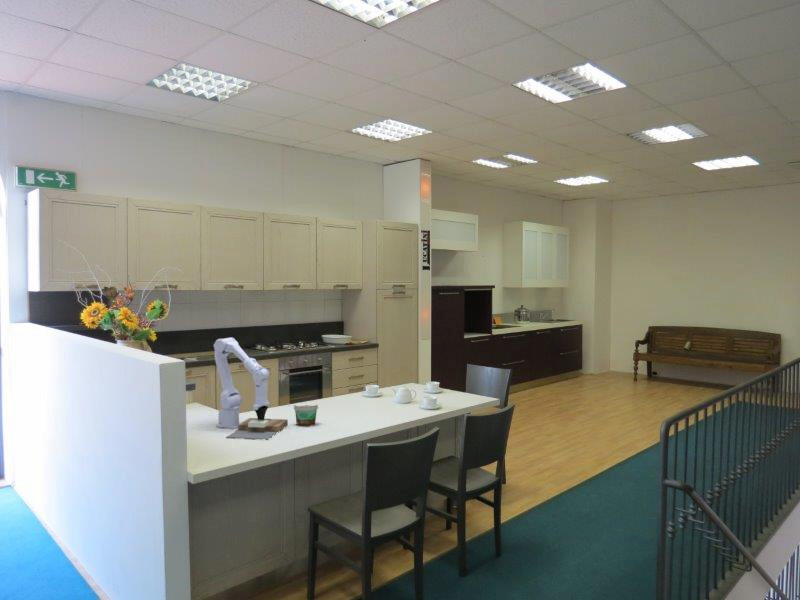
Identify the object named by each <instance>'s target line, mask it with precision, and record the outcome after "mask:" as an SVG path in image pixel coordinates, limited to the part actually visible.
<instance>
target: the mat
mask: <svg viewBox="0 0 800 600" xmlns="http://www.w3.org/2000/svg"><path fill="white" fill-rule="evenodd" d="M276 433H277V432H264V431H243V430H238V429H237V430H236V431H234V432H232V433H231V434H229V435H227V436H226V439H235V438H244V439H243V440H255V439H267V440H266V441H268V439H269V438H270V439H272V438H273V437H274V436H275V435H277V434H278V433H277V434H276ZM273 435H274V436H273ZM272 436H273V437H272ZM270 439H269V440H270Z"/></svg>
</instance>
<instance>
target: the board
mask: <svg viewBox="0 0 800 600" xmlns="http://www.w3.org/2000/svg"><path fill="white" fill-rule="evenodd" d="M252 420H258V417H256V418H255V417H254V418H253V417H249V418H247V419H245V420H244V421H241V423H240V422H239V423H240V424H239V425H238V427H237V430H243V431H264V432H278V433H280V432H281V431H282V430H284V429H285V428H286V427H287V425H288V419H285V418H284V419H282V418H281V419H280V418H264V420H269V425H267V426H266V427H264V428H261V427H248V422H250V421H252ZM284 427H285V428H284ZM283 428H284V429H283ZM281 429H282V430H281ZM280 430H281V431H280ZM279 431H280V432H279Z"/></svg>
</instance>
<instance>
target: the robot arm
mask: <svg viewBox="0 0 800 600" xmlns="http://www.w3.org/2000/svg"><path fill="white" fill-rule="evenodd" d="M213 348H214V353H213V354H214V361H215V364H216V368H217V372H218V377H219V381H220V383H221V384H220V385H221V389H222V392H221V394H220V396H219V397H220V406H221V408H220V409H219V411H218V415H217V417H218V420H217V421H218V425H217V428H221V429H223V428H225V429H228V428H229V429H238V425H239V424H240V407H241V405H242V402H243V397H242V396H241V394H240V392H239V390H238V389H237V388H236V387H235V386H234V382H233V377H232V374H231V369H230V366H229V363H228V362H229V361H228V358H227V357H228V355H230V354H231V353H233V355H235V356H236V357H237V358H238V359H239V360H240V361H241V362H242V363H243V366H244V368H245V369H246V370H247V371H248V372H249V373H250V374H251V375H252V380H253V381H254V404H253V407H252V408H253V409H252V410H253V411H254V412H255V413H256V418H258V420H264V419H265V415H266V413H267V410H268V408H269V405H270V402H269V399H268V380H269V377H270V372H269V370H268V369H267V368H265V367H263V366H262V365H260V364H259V363H258V362H257V359H256V358H254V357H249V356H248V354H247V353H246V352H245V351H244V350H243V349H242V348H241V345H240V344H239V342H238V341H237V340H236V339H235V338H234V337H225V338H218V339H216V340H215V342H214V343H213Z"/></svg>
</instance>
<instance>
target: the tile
mask: <svg viewBox="0 0 800 600" xmlns="http://www.w3.org/2000/svg"><path fill="white" fill-rule="evenodd" d="M267 425H269V420H252V421H250V422H248V427H261V428H264V427H266V426H267Z"/></svg>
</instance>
